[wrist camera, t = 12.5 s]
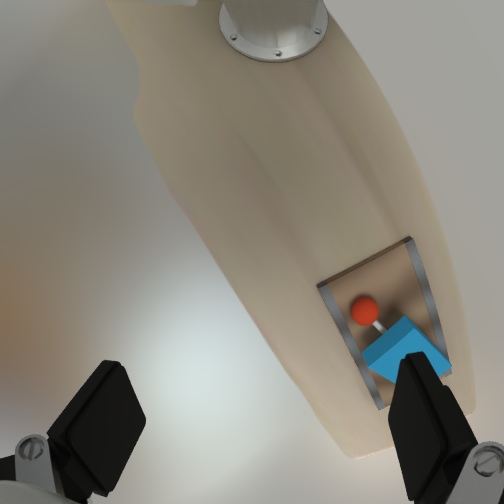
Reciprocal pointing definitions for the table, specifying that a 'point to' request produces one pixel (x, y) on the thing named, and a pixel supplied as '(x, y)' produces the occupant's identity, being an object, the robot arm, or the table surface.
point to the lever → (395, 342)
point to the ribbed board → (383, 306)
